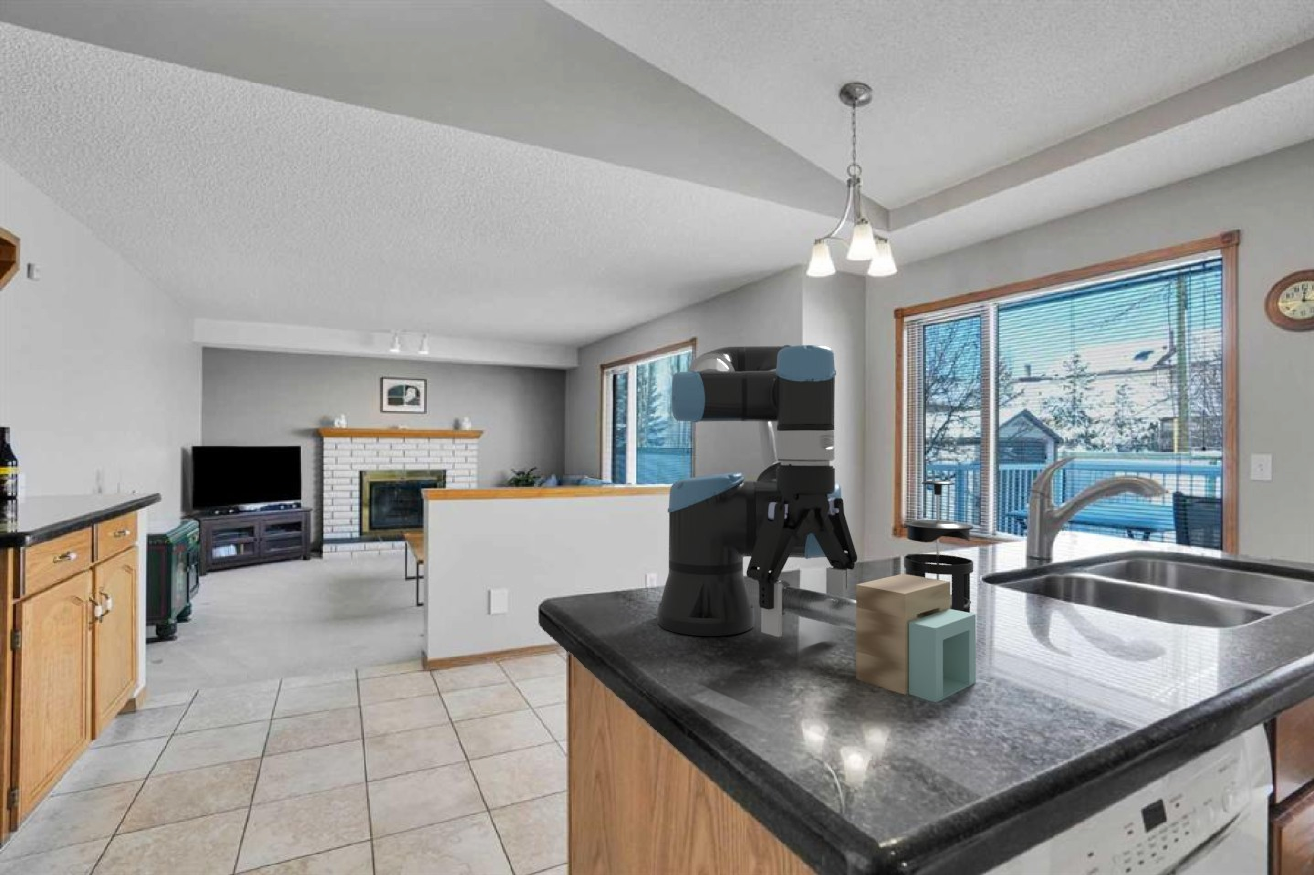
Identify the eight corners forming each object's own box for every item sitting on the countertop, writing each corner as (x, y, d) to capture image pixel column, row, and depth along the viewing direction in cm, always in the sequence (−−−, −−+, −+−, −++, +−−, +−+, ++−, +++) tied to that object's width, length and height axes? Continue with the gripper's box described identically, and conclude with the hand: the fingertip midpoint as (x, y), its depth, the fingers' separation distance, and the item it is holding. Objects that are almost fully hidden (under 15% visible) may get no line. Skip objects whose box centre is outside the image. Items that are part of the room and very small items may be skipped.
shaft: (764, 616, 88) (764, 582, 88) (786, 610, 91) (786, 577, 91) (910, 655, 72) (910, 613, 72) (931, 646, 75) (931, 606, 75)
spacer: (908, 706, 70) (908, 622, 70) (949, 686, 76) (949, 608, 76) (935, 715, 68) (935, 628, 68) (975, 694, 73) (975, 614, 73)
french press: (994, 654, 87) (993, 482, 87) (930, 659, 85) (930, 483, 85) (939, 630, 99) (939, 478, 99) (883, 633, 97) (882, 478, 97)
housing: (856, 690, 74) (856, 584, 74) (902, 670, 81) (902, 573, 81) (905, 706, 70) (905, 593, 70) (950, 684, 76) (950, 581, 76)
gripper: (764, 466, 75) (764, 650, 75) (882, 462, 91) (883, 614, 91) (718, 464, 81) (718, 635, 81) (837, 461, 97) (837, 604, 97)
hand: (805, 624), depth 86 cm, fingers open, 13 cm apart
